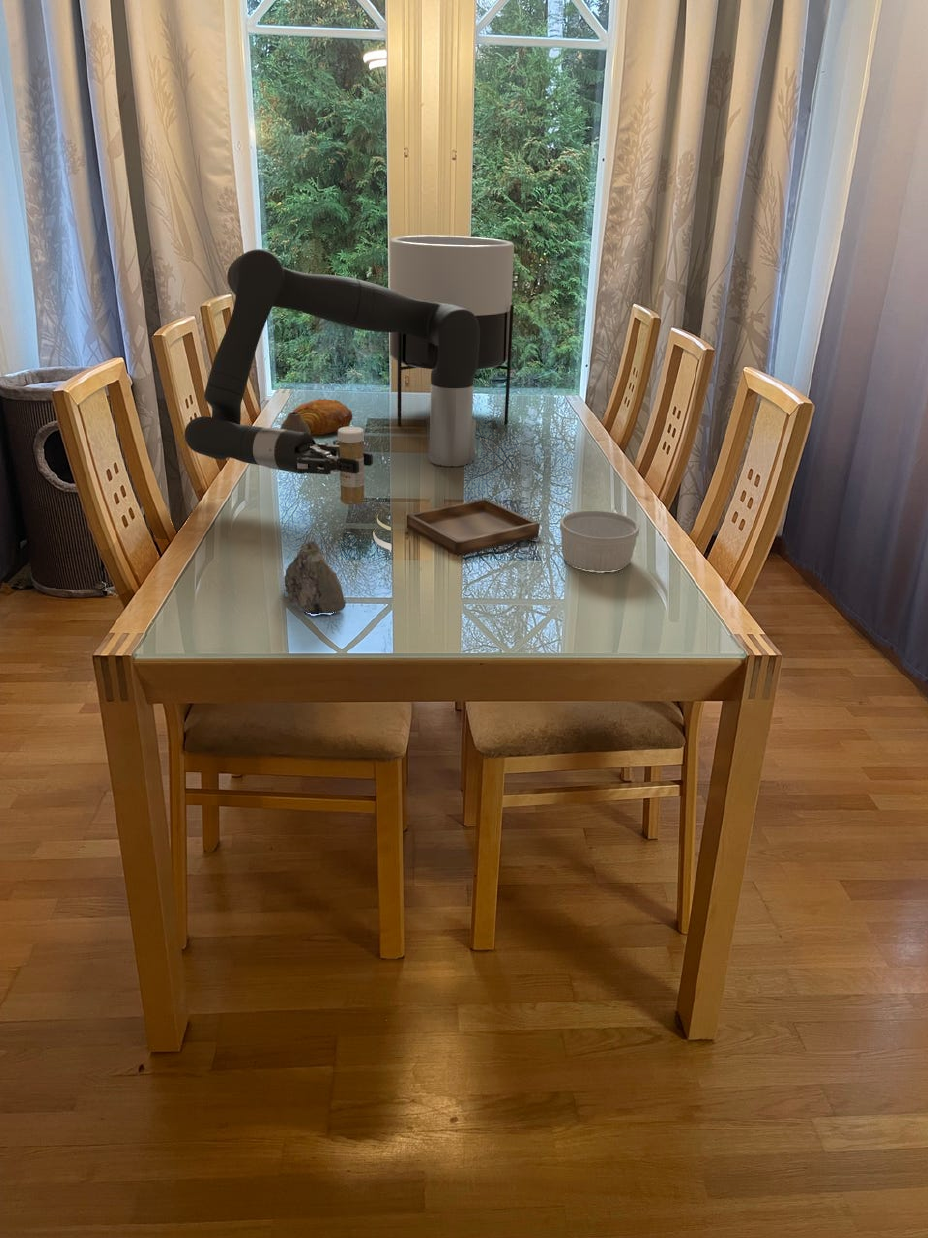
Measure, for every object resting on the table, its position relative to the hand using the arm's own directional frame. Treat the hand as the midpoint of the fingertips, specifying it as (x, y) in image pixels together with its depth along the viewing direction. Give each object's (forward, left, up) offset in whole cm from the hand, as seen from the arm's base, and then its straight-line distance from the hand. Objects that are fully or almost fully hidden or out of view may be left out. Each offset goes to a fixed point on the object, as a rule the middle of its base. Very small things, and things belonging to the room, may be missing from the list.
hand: (364, 463), depth 165 cm
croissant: (-25, -64, -12) cm, 70 cm away
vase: (-10, -48, -12) cm, 51 cm away
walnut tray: (-14, +14, -11) cm, 23 cm away
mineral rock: (+23, +24, -12) cm, 35 cm away
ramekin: (-24, +36, -12) cm, 45 cm away
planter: (-58, -56, -12) cm, 82 cm away
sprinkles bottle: (+1, -2, -8) cm, 8 cm away
